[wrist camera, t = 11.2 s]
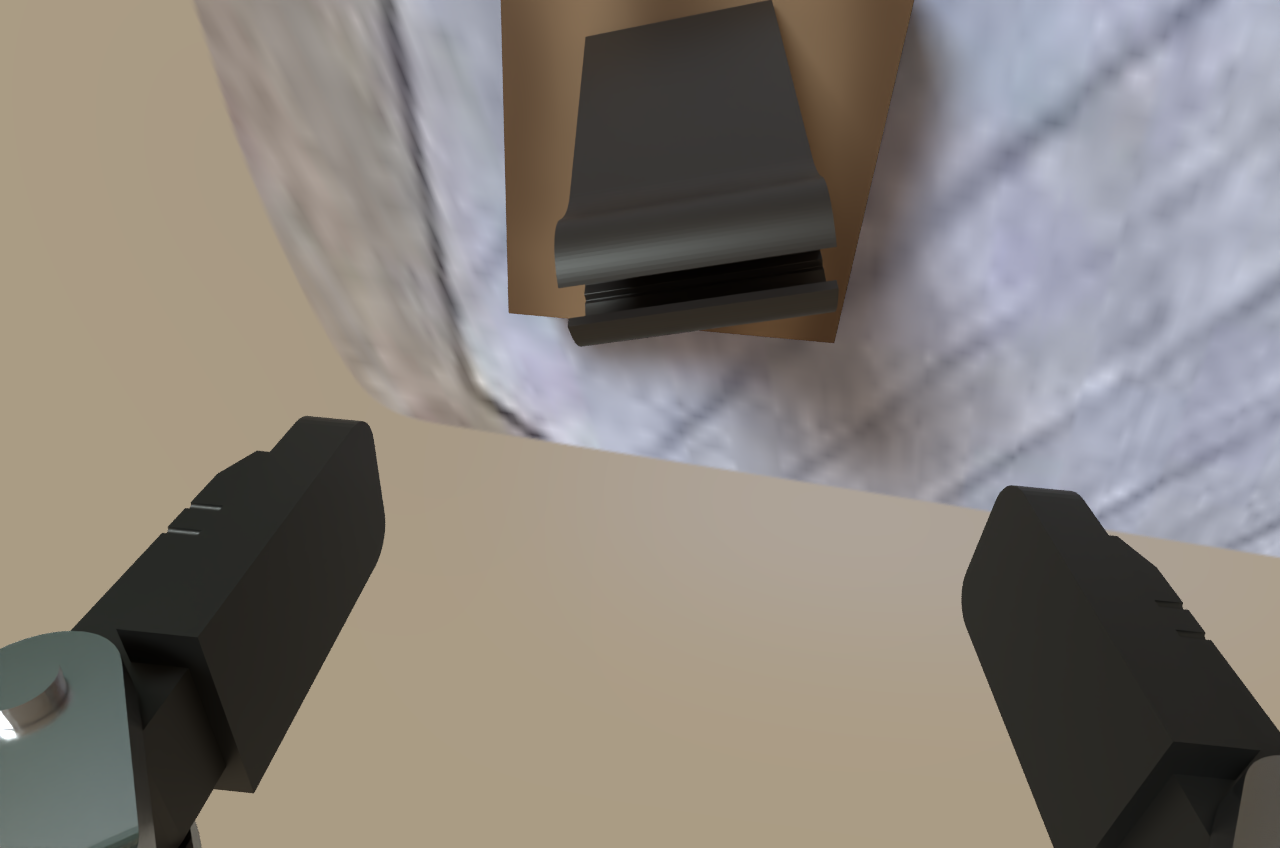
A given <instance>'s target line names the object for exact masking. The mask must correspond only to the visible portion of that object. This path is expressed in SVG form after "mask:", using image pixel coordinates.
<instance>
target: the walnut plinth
mask: <svg viewBox="0 0 1280 848" xmlns="http://www.w3.org/2000/svg"><path fill="white" fill-rule="evenodd" d="M761 1H766V0H501V26H502V66H503V106H504V145H505V185H506V225H507V264H508V304H509V313H513V314H524V315H535V316H546V317H557V318H568V319H569V318H574V317H581V316H585V302H586V299H585V296H584V291H585V285H578V286H571V287H565V288H558V284H557V277H556V268H555V255H554V238H555V229H556V225H557V222H558V221H559V220H560V219H562V218H563V217H564V215H565V213H566V211H567V208H568V203H569V197H570V187H571V177H572V167H573V157H574V147H575V137H576V127H577V117H578V107H579V97H580V87H581V77H582V67H583V57H584V47H585V37H586V36H591V35H596V34H601V33H606V32H611V31H616V30H621V29H626V28H631V27H636V26H641V25H646V24H651V23H656V22H661V21H666V20H671V19H676V18H681V17H686V16H691V15H696V14H701V13H706V12H711V11H716V10H721V9H726V8H731V7H736V6H741V5H746V4H751V3H756V2H761ZM772 2H773V6H774V10H775V14H776V18H777V22H778V26H779V30H780V34H781V37H782V41H783V45H784V49H785V53H786V57H787V61H788V65H789V68H790V72H791V76H792V80H793V84H794V88H795V92H796V96H797V100H798V103H799V107H800V111H801V115H802V119H803V123H804V127H805V131H806V135H807V138H808V142H809V146H810V150H811V154H812V158H813V161H814V164H815V167H816V169H817V171H818V173H819V175H820V176H822V177H823V178H824V179H825V182H826V184H827V188H828V191H829V196H830V201H831V206H832V212H833V218H834V225H835V234H836V243H837V247H832V248H826V249H820V251H821V255H822V259H823V268H824V272H825V278H826V281H833V280H837V284H838V288H839V294H838V305H837V309H836V311H835V312H830V313H823V314H816V315H808V316H801V317H794V318H786V319H779V320H772V321H765V322H757V323H750V324H743V325H735V326H728V327H721V328H713V329H706V330H699V331H709V332H720V333H730V334H741V335H752V336H763V337H774V338H785V339H795V340H806V341H817V342H828V343H834V341H835V337H836V333H837V329H838V324H839V320H840V316H841V311H842V307H843V303H844V299H845V294H846V290H847V286H848V281H849V277H850V273H851V268H852V264H853V260H854V256H855V251H856V247H857V243H858V238H859V234H860V230H861V226H862V221H863V217H864V213H865V208H866V204H867V200H868V195H869V191H870V187H871V183H872V178H873V174H874V170H875V165H876V161H877V157H878V153H879V148H880V144H881V140H882V135H883V131H884V127H885V122H886V118H887V114H888V110H889V105H890V101H891V97H892V92H893V88H894V84H895V80H896V75H897V71H898V67H899V62H900V58H901V54H902V49H903V45H904V41H905V37H906V32H907V28H908V24H909V19H910V15H911V11H912V6H913V2H914V0H772Z"/></svg>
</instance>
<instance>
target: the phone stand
mask: <svg viewBox="0 0 1280 848" xmlns="http://www.w3.org/2000/svg"><path fill="white" fill-rule="evenodd" d="M832 247H837V243H836V234H835V225H834V218H833V212H832V206H831V201H830V196H829V191H828V188H827V184H826V182H825V179H824V178H823V177H822V176H820V175H819V173H818V171H817V169H816V167H815V164H814V161H813V158H812V154H811V150H810V146H809V142H808V138H807V135H806V131H805V127H804V123H803V119H802V115H801V111H800V107H799V103H798V100H797V96H796V92H795V88H794V84H793V80H792V76H791V72H790V68H789V65H788V61H787V57H786V53H785V49H784V45H783V41H782V37H781V34H780V30H779V26H778V22H777V18H776V14H775V10H774V6H773V2H772V0H766V1H761V2H756V3H751V4H746V5H741V6H736V7H731V8H726V9H721V10H716V11H711V12H706V13H701V14H696V15H691V16H686V17H681V18H676V19H671V20H666V21H661V22H656V23H651V24H646V25H641V26H636V27H631V28H626V29H621V30H616V31H611V32H606V33H601V34H596V35H591V36H586V37H585V47H584V57H583V67H582V77H581V87H580V97H579V107H578V117H577V127H576V137H575V147H574V157H573V167H572V177H571V187H570V197H569V203H568V208H567V211H566V213H565V215H564V217H563V218H562V219H560V220H559V221H558V222H557V225H556V229H555V238H554V255H555V268H556V277H557V284H558V288H565V287H571V286H578V285H585V291H584V296H585V299H586V302H585V316H581V317H574V318H569V321H568V328H569V331H570V333H571V336H572V338H573V340H574V341H575V343H576V344H577V345H578V346H580V347H582V346H589V345H596V344H604V343H611V342H618V341H626V340H633V339H640V338H648V337H655V336H662V335H670V334H677V333H684V332H691V331H699V330H706V329H713V328H721V327H728V326H735V325H743V324H750V323H757V322H765V321H772V320H779V319H786V318H794V317H801V316H808V315H816V314H823V313H830V312H835V311H836V309H837V305H838V294H839V288H838V284H837V280H833V281H826V278H825V272H824V268H823V259H822V255H821V251H820V249H826V248H832Z"/></svg>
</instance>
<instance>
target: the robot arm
mask: <svg viewBox="0 0 1280 848" xmlns="http://www.w3.org/2000/svg"><path fill="white" fill-rule="evenodd" d="M384 533H385V513H384V506H383V500H382V493H381V486H380V480H379V473H378V466H377V459H376V452H375V445H374V439H373V434H372V431H371V429H370V426H369V425H368V424H367V423H366V422H363V421H354V420H342V419H332V418H321V417H311V416H304V417H302V418H300V419H299V420H298V421H297V422H296V423H295V424H294V425H293V426H292V428H290V430H289V431H288V432H287V433H286V434H285V435H284V437H283V438H282V439H281V440H280V441H279V442H278V443H277V445H276V446H275V447H274V448H273V449H272V450H271V451H270V452H264V451H256V452H254V453H252V454H251V455H249V456H247V457H245V458H244V459H242V460H240V461H238V462H237V463H235V464H233V465H232V466H230V467H228V468H227V469H225V470H223V471H221V472H220V473H218V474H217V475H216V476H215V477H214V478H213V479H212V480H211V481H210V482H209V483H208V484H207V486H206V487H205V488H204V489H203V490H202V491H201V492H200V493H199V494H198V495H197V496H196V497H195V498H194V500H193V501H192V502H191V507H190V509H188V508H185V509H184V510H183V511H182V512H181V513H180V514H179V515H178V517H177V518H176V519H175V520H174V521H173V522H172V523H171V524H170V525H169V526H168V532H167V533H162V534H161V535H160V536H159V537H158V538H157V539H156V540H155V541H154V542H153V543H152V544H151V545H150V547H149V548H148V549H147V550H146V551H145V552H144V553H143V554H142V555H141V556H140V557H139V558H138V559H137V560H136V561H135V563H134V564H133V565H132V566H131V567H130V568H129V569H128V570H127V571H126V572H125V573H124V574H123V575H122V576H121V578H120V579H119V580H118V581H117V582H116V583H115V584H114V585H113V586H112V587H111V588H110V589H109V590H108V591H107V592H106V593H105V595H104V596H103V597H102V598H101V599H100V600H99V601H98V602H97V603H96V604H95V606H93V607H92V608H91V610H90V611H89V612H88V613H87V614H86V615H85V616H84V617H83V618H82V619H81V620H80V621H79V622H78V624H77V625H76V626H75V627H74V628H73V629H72V630H71V631H62V632H53V633H47V634H42V635H38V636H34V637H31V638H27V639H24V640H21V641H18V642H15V643H12V644H10V645H7V646H5V647H3V648H1V649H0V848H202V847H201V841H200V835H199V831H198V828H197V824H196V822H195V819H196V818H197V816H198V814H199V813H200V811H201V809H202V807H203V806H204V804H205V802H206V801H207V799H208V797H209V796H210V794H211V792H212V790H213V789H218V790H228V791H238V792H246V793H247V792H248V793H254V792H255V790H256V788H257V787H258V785H259V783H260V781H261V779H262V777H263V775H264V773H265V772H266V770H267V768H268V766H269V764H270V762H271V760H272V758H273V757H274V755H275V753H276V751H277V749H278V747H279V745H280V743H281V741H282V740H283V738H284V736H285V734H286V732H287V730H288V728H289V727H290V725H291V723H292V721H293V719H294V717H295V715H296V714H297V712H298V710H299V708H300V706H301V704H302V702H303V700H304V699H305V697H306V695H307V693H308V691H309V689H310V687H311V685H312V684H313V682H314V680H315V678H316V676H317V674H318V672H319V670H320V669H321V667H322V665H323V663H324V661H325V659H326V657H327V655H328V654H329V652H330V650H331V648H332V646H333V644H334V642H335V641H336V639H337V637H338V635H339V633H340V631H341V629H342V627H343V626H344V624H345V622H346V620H347V618H348V616H349V614H350V612H351V610H352V609H353V607H354V605H355V603H356V601H357V599H358V597H359V596H360V594H361V592H362V590H363V588H364V586H365V584H366V583H367V581H368V579H369V577H370V575H371V573H372V571H373V569H374V568H375V566H376V563H377V561H378V559H379V556H380V553H381V549H382V545H383V540H384ZM1182 604H1183V602H1182V601H1181V600H1180V598H1179V597H1178V596H1177V594H1176V593H1175V591H1174V590H1173V589H1172V587H1171V586H1170V585H1169V583H1168V582H1167V581H1166V579H1165V578H1164V577H1163V575H1162V574H1161V573H1160V572H1159V570H1158V569H1157V567H1155V566H1154V565H1153V564H1152V563H1150V562H1149V561H1148V560H1146V559H1145V558H1144V557H1143V556H1141V555H1140V554H1139V553H1138V552H1136V551H1135V550H1134V549H1132V548H1131V547H1130V546H1129V545H1128V544H1126V543H1125V542H1124V541H1123V540H1121V539H1120V538H1119V537H1117V536H1109V535H1108V534H1107V532H1106V531H1105V529H1104V528H1103V527H1102V525H1101V524H1100V522H1099V521H1098V520H1097V518H1096V517H1095V515H1094V514H1093V512H1092V511H1091V510H1090V508H1089V507H1088V505H1087V504H1086V503H1085V501H1084V500H1083V499H1082V497H1081V496H1080V495H1078V494H1077V493H1075V492H1073V491H1065V490H1054V489H1044V488H1034V487H1023V486H1012V485H1010V486H1007V487H1006V488H1004V489H1003V490H1002V491H1001V492H1000V494H999V495H998V497H997V499H996V501H995V504H994V506H993V508H992V511H991V513H990V516H989V518H988V521H987V523H986V526H985V528H984V530H983V533H982V535H981V538H980V540H979V543H978V545H977V547H976V550H975V552H974V555H973V558H972V559H971V562H970V564H969V567H968V569H967V572H966V574H965V577H964V581H963V587H962V612H963V618H964V622H965V625H966V628H967V630H968V633H969V635H970V638H971V641H972V643H973V646H974V648H975V651H976V653H977V656H978V658H979V661H980V663H981V666H982V668H983V671H984V673H985V676H986V678H987V681H988V683H989V686H990V688H991V691H992V693H993V696H994V698H995V701H996V703H997V706H998V709H999V711H1000V713H1001V716H1002V718H1003V721H1004V724H1005V726H1006V729H1007V731H1008V733H1009V736H1010V738H1011V741H1012V744H1013V746H1014V749H1015V751H1016V754H1017V756H1018V759H1019V761H1020V764H1021V766H1022V769H1023V771H1024V774H1025V776H1026V779H1027V782H1028V784H1029V786H1030V789H1031V791H1032V794H1033V797H1034V799H1035V801H1036V804H1037V807H1038V809H1039V812H1040V814H1041V817H1042V819H1043V821H1044V824H1045V827H1046V829H1047V832H1048V834H1049V837H1050V839H1051V842H1052V844H1053V847H1054V848H1280V732H1279V730H1278V729H1277V728H1276V726H1275V725H1274V724H1273V722H1272V721H1271V720H1270V718H1269V717H1268V716H1267V714H1266V713H1265V712H1264V711H1263V709H1262V708H1261V706H1260V705H1259V704H1258V702H1257V701H1256V700H1255V699H1254V697H1253V696H1252V694H1251V693H1250V692H1249V690H1248V689H1247V688H1246V686H1245V685H1244V684H1243V682H1242V681H1241V680H1240V678H1239V677H1238V676H1237V674H1236V673H1235V672H1234V670H1233V669H1232V668H1231V666H1230V665H1229V664H1228V662H1227V661H1226V660H1225V658H1224V657H1223V656H1222V654H1221V653H1220V652H1219V650H1218V649H1217V647H1216V646H1215V645H1214V643H1213V642H1212V641H1211V640H1206V639H1205V637H1204V635H1205V632H1204V630H1203V629H1202V627H1201V626H1200V625H1199V623H1198V622H1197V621H1196V620H1195V618H1194V617H1193V616H1192V614H1191V613H1190V611H1189V610H1184V609H1183V607H1182Z"/></svg>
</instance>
